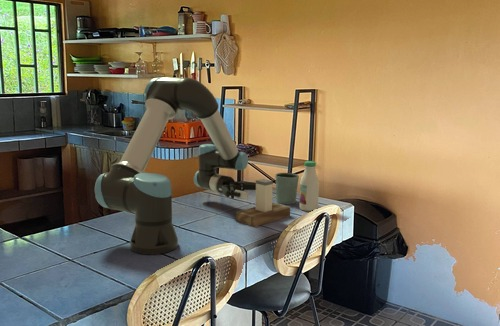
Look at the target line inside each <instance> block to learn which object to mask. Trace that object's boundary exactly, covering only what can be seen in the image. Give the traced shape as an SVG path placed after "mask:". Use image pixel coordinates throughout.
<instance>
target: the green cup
mask: <svg viewBox="0 0 500 326" xmlns="http://www.w3.org/2000/svg"><path fill="white" fill-rule="evenodd" d="M299 179H300V178H299V174H296V173H293V172H279V173H276V174H275V201H276V202H275V203H276V204H280V205H293V204H295V203H296V202H297V192H298V185H299Z"/></svg>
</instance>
